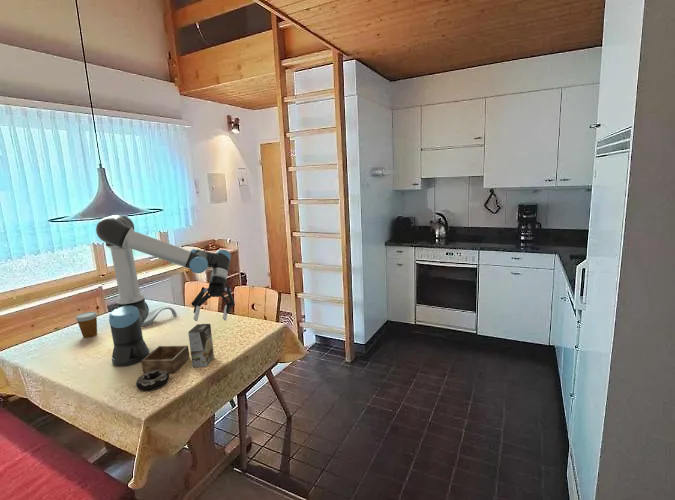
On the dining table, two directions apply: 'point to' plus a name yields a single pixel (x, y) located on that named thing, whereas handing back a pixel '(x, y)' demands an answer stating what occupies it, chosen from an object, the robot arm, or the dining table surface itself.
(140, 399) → the dining table surface
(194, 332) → the coffee box
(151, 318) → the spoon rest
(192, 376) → the dining table surface
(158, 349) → the open wooden box
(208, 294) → the robot arm
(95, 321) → the disposable coffee cup
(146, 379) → the donut
